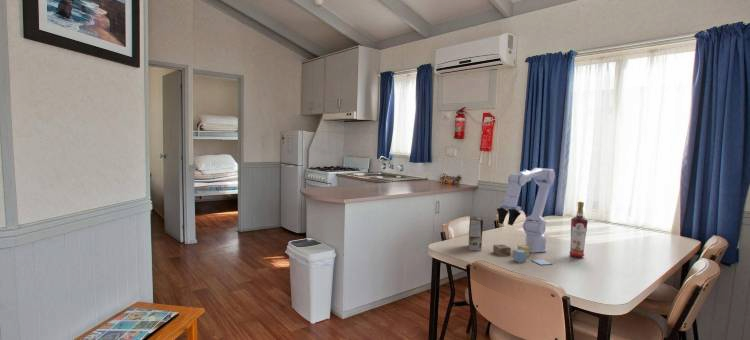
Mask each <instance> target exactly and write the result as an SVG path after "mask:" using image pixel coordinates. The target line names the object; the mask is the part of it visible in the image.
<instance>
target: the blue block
mask: <svg viewBox="0 0 750 340" xmlns="http://www.w3.org/2000/svg"><path fill="white" fill-rule="evenodd" d="M513 253H514V254H513V261H515V262H517V263H520V264H522V263H527V260H528V259H527V258H528V257H527V252H526V251H524V250H518V249H514V252H513Z"/></svg>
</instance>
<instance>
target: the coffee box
mask: <svg viewBox="0 0 750 340" xmlns="http://www.w3.org/2000/svg"><path fill="white" fill-rule="evenodd" d="M468 225H469V226H468V227H469V229H468V249H469V251H479V252H481V251H482V244H483V231H484V230H483V229H484V228H483V227H484V219H483V217H481V216H469V224H468Z"/></svg>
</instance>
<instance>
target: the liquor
mask: <svg viewBox="0 0 750 340" xmlns="http://www.w3.org/2000/svg"><path fill="white" fill-rule="evenodd" d="M584 204H585V203H584V201H577V211H576V216H574V217H572V218H571V219H570V220H571V221H570V250H569V253H568V254H569V255H570V256H571V257H573V258H577V259H581V258H584V256H585V244H586V236H587V229H588V222H589V220H588V219H587V218H585V217H584V206H585V205H584Z"/></svg>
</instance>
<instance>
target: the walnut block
mask: <svg viewBox="0 0 750 340" xmlns="http://www.w3.org/2000/svg"><path fill="white" fill-rule="evenodd" d="M492 249H493V251H492V252H493V254H496V255H497V256H499V257H503V256H511V251H512V250H511V249H512V248H511V247H510V246H508V245H506V244H493V248H492Z"/></svg>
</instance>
